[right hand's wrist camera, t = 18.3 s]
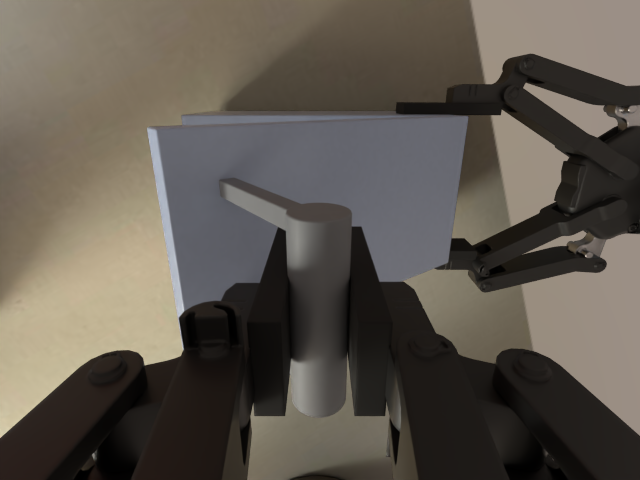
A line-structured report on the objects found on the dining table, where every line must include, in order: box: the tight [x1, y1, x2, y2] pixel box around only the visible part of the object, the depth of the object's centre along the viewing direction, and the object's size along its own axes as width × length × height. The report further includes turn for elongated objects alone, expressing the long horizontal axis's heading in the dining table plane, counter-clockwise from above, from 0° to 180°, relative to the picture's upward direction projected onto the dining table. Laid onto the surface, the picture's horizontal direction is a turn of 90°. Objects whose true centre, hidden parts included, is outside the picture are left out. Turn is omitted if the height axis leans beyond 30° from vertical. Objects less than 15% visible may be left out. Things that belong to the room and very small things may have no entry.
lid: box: [147, 115, 468, 418], centre depth 17 cm, size 18×10×8 cm
